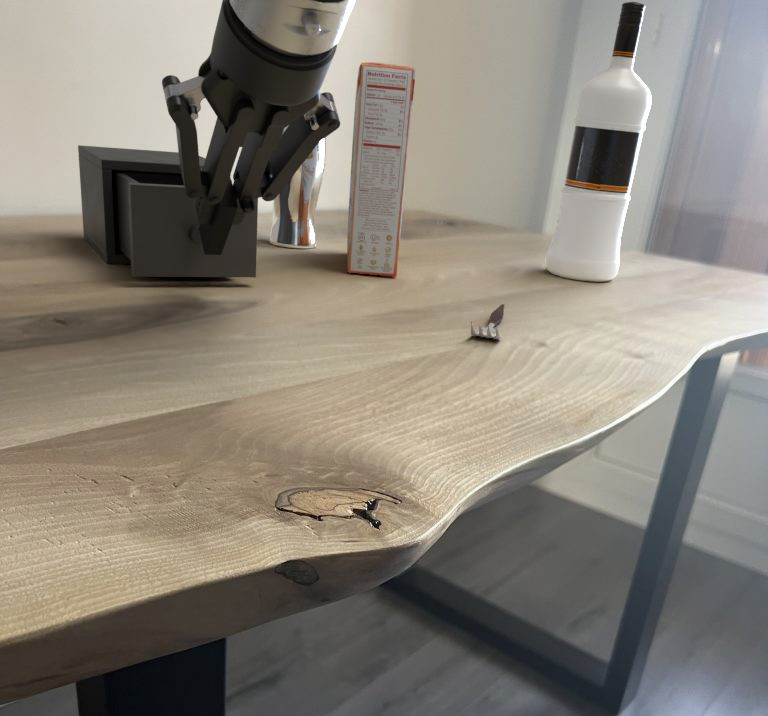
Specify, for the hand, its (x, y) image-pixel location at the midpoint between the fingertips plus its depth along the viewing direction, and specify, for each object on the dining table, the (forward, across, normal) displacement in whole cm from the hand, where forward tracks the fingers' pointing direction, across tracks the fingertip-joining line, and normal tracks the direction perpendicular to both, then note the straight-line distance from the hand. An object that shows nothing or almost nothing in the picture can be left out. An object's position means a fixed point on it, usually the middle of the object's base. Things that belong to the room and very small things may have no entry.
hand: (210, 241), depth 72 cm
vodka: (+11, +51, +4) cm, 53 cm away
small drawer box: (+19, 0, +12) cm, 23 cm away
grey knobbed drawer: (+10, 0, +5) cm, 11 cm away
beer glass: (+24, +19, +16) cm, 34 cm away
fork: (-5, +23, -12) cm, 26 cm away
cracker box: (+15, +24, +8) cm, 29 cm away
